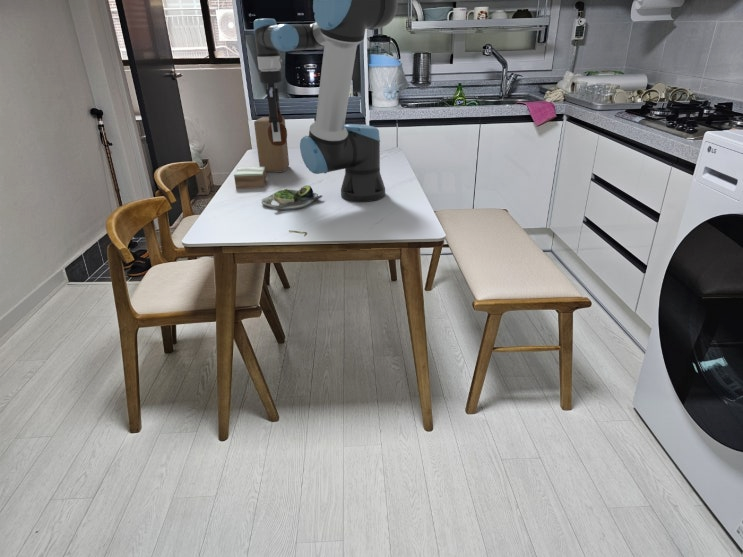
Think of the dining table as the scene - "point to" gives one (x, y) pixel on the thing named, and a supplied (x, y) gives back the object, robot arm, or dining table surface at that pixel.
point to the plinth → (250, 177)
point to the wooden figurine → (282, 131)
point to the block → (270, 148)
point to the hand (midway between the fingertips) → (278, 139)
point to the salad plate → (291, 198)
